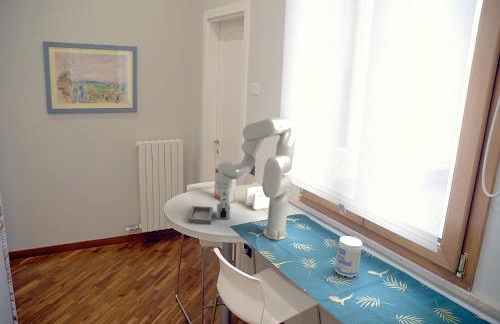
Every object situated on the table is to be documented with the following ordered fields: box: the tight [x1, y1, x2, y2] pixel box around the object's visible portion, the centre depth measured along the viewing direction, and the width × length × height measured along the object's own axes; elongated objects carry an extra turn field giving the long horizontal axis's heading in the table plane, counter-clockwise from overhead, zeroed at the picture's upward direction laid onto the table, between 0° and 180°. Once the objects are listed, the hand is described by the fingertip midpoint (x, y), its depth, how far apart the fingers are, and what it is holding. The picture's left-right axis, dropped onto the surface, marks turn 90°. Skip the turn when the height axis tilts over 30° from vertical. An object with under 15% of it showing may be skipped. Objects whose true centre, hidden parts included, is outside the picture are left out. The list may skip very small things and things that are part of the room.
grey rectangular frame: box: [187, 205, 213, 225], centre depth 205 cm, size 20×12×2 cm, turn 3°
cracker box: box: [213, 165, 237, 204], centre depth 234 cm, size 14×6×21 cm, turn 45°
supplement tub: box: [334, 235, 363, 278], centre depth 156 cm, size 10×10×15 cm
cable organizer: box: [244, 185, 270, 211], centre depth 227 cm, size 15×11×12 cm
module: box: [216, 203, 231, 220], centre depth 206 cm, size 5×7×7 cm
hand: (223, 215), depth 207 cm, fingers closed on module, 5 cm apart
